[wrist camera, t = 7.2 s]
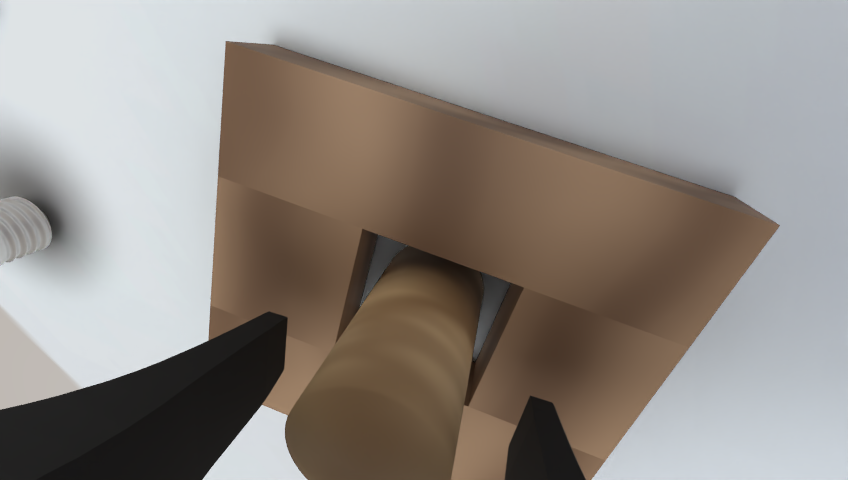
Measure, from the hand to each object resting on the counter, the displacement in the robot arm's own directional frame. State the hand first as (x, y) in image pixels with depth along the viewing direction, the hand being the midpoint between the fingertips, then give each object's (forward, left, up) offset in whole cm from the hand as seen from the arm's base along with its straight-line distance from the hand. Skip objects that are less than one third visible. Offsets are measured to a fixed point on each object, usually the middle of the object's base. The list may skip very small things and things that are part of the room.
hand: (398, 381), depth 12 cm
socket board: (0, 0, -5) cm, 5 cm away
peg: (0, 0, -5) cm, 5 cm away
